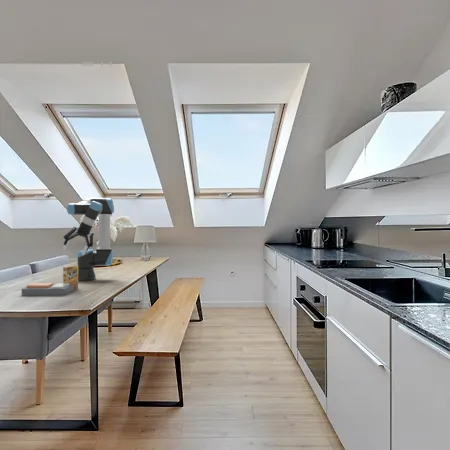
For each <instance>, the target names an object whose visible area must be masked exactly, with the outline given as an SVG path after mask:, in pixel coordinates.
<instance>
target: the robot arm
mask: <svg viewBox="0 0 450 450" xmlns="http://www.w3.org/2000/svg"><path fill="white" fill-rule="evenodd" d="M66 208H67V210H66V211H67V212H66V213H67V214H68V215H72V216H76V215H77V216H80V215H83V218H82V221H81V222H80V224H79V226H78V227H76V226H73V227H72V229H71V230H70V231H68V232H67V233H66V234H65V235H64V236H63V238H64V242H63V247H62V248H61V249H62V250H63V251H66V249H67V247H68V245H69V243H70V240H72V239H74V238H76V237H83V238H84V240H85V243H86V245H85V246H84V248H83V250H79V251H78V252H77V266H78V282H79V281H80V282H85V281H86V282H87V281H93V280H96V279H97V276H96V273H95V270H94V267H98V266H99V267H102V266H103V267H106V266H111V265H113V260H114V253H115V252H114V251H113V248H111V245H110V243H111V237H110V236H111V217H112V216H113V213H115V206H114V200H113V198H109V197H89V198H84V199H82V200H80V201H79V202H77V203H68V204H67V206H66ZM97 218H98V245H97V247H96V250H94V249H89V248H91V247H93V246H94V234H95V233H94V232H92V231H91V230H92V228H93V227H94V225H95V222H96V220H97Z"/></svg>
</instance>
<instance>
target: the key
mask: <svg viewBox="0 0 450 450" xmlns="http://www.w3.org/2000/svg"><path fill="white" fill-rule="evenodd" d="M53 285H55V283H53V282H45V283H44V282H32V283H30V284H27V285H26V287H27V288H50V287H51V286H53Z"/></svg>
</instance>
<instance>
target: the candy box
mask: <svg viewBox="0 0 450 450" xmlns="http://www.w3.org/2000/svg"><path fill="white" fill-rule="evenodd" d="M62 269H63V271H62V274H63V276H62V278H63V279H62V283H69V285H73V290H77V289H79V281H78V265H70V266H63V267H62Z"/></svg>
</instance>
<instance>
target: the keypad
mask: <svg viewBox="0 0 450 450" xmlns="http://www.w3.org/2000/svg"><path fill="white" fill-rule="evenodd" d="M72 292H74V289H73V285H69V283H63V282H61V283H60V282H59V283H56V284H54V285H53V286H51V287H50V288H27V286H26V287H22V288H21V296H66V295H68V294H70V293H72Z"/></svg>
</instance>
